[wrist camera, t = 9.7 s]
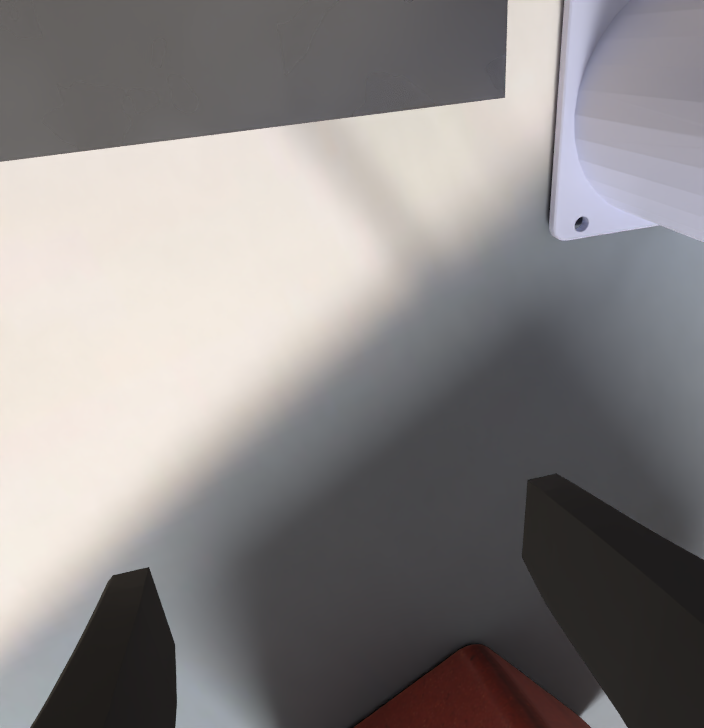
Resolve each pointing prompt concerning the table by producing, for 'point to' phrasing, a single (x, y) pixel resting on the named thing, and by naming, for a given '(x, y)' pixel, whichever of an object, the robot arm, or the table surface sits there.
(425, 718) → the plant pot
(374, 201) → the table surface
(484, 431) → the table surface
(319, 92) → the metal square hole block
